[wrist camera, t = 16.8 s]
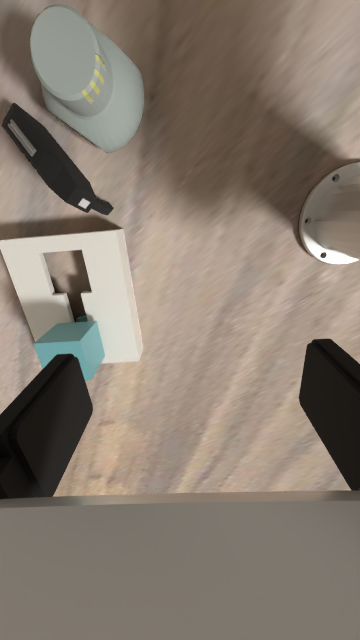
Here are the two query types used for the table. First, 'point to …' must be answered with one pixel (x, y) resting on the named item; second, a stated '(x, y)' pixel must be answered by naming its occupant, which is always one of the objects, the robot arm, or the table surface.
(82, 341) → the slider
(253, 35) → the table surface
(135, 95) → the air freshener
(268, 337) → the table surface
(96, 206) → the black striped sneaker
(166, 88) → the table surface
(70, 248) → the keyhole deck
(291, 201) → the table surface
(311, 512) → the robot arm
